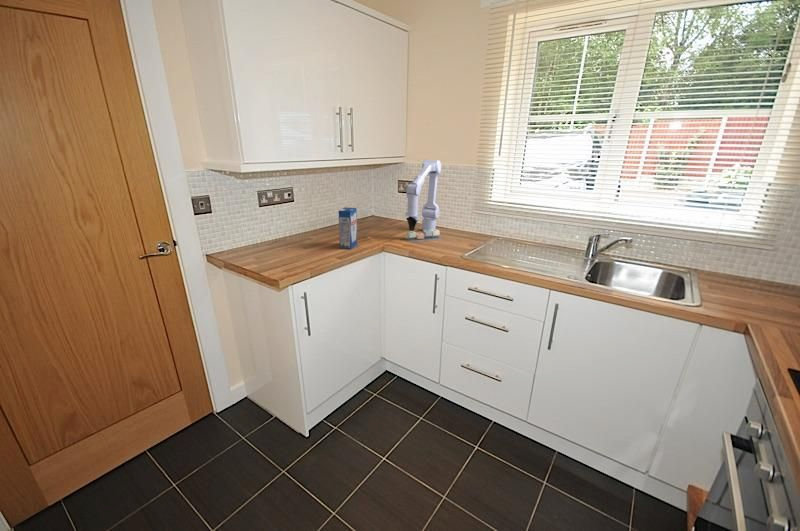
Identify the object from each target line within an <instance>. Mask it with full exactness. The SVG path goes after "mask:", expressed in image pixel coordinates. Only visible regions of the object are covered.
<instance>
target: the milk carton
mask: <svg viewBox="0 0 800 531" xmlns="http://www.w3.org/2000/svg"><path fill="white" fill-rule="evenodd" d="M357 210H358V209H357V207H344V208H341V209H338V228H339V229H338V232H339V249H342V250H352V249H353V247H354V248H355V247H356V246H357V245H358V221H357V220H358V218H357V217H358V215H357V214H358V213H357Z"/></svg>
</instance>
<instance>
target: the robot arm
mask: <svg viewBox="0 0 800 531" xmlns="http://www.w3.org/2000/svg"><path fill="white" fill-rule="evenodd" d="M421 167H422V168H421V170H420V172H419V174H417V175H416V176H414V178H413V180H412V181H411V183H408V185H406V189H405V192H406V198H407V209H406V211H405V217H406V218H405V219H406V222H407V223H408V224H407V225H408V228H409V232H410V231H414V230H415V227H416V225H417V223H418V221H420V219H421V217H420V216H419V214H418V211H419V196H420V194H421V190H422V186H423V185H424V183H425V181H426V179H425V178H426V177H427V175H428V176H429V177H428V178H429V180H428V189H427V190H428V192H427V202H426V203H425V204H423V207H422V210H421V216H422V217H423V219H422V221H421V230H422V231H423V230H435V229H436V225H437V219H438V218H439V217H440V206H439V205H438V204H437V202H436V198H437V188H438V179H439V176H440V175H441V173H442V172H441V170H442V162H441V161H440V160H439V159H437V160H435V159H424V160H422V163H421ZM414 232H415V231H414Z"/></svg>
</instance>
